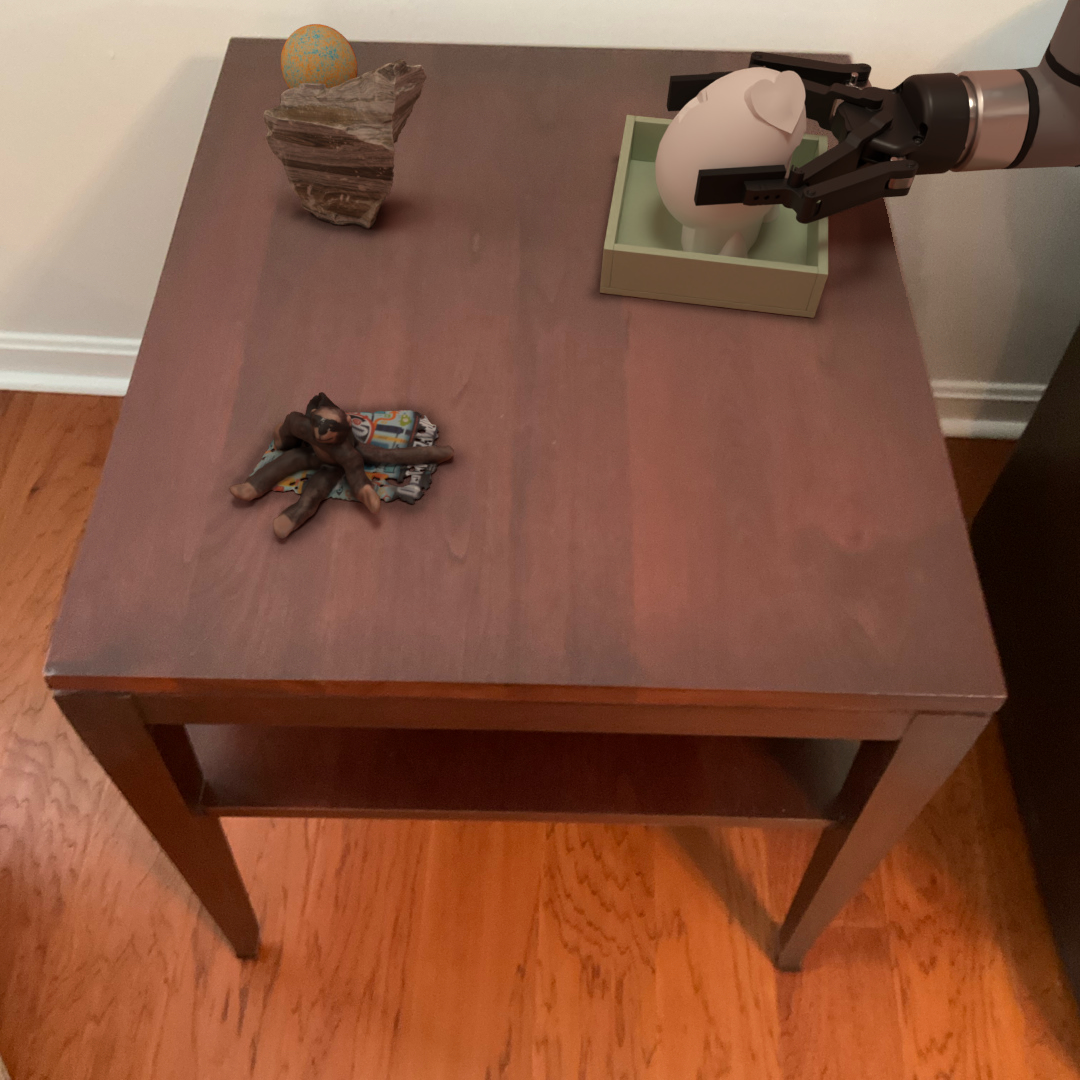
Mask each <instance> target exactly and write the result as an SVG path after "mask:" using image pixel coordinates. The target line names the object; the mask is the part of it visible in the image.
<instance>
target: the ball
mask: <svg viewBox="0 0 1080 1080" xmlns="http://www.w3.org/2000/svg"><path fill="white" fill-rule="evenodd" d="M280 70H281V74H282V77H283V80H284V83H285V85H286V86H287V88H288V89H291V88H295V87H299V85H300V84H301V83H314V84H318V83H321V84H326V85H325V86H326V88H327V89H330V88H332V87H335V86H338V85H341V84H343V83H344V82H346V81H348V80H350V79H354V78H357V77H358V61H357V56H356V53H355V50H354V49H353V47H352V44H351V43H350V42H349V40H348V39H347V38H346V37H345V36H344V35H343V34H342V33H341V32H340V31H338V30H336V28H333V27H331V26H329V25H325V24H321V23H311V24H310V23H309V24H307V25H304V26H301V27H299V28H297V29H296V30H294V31H293V32H292V33H291V34H290V35H289V36H288V37H287V38H286V41H285V43H284V44H283V47H282V50H281V54H280Z"/></svg>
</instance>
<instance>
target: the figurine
mask: <svg viewBox="0 0 1080 1080" xmlns="http://www.w3.org/2000/svg"><path fill="white" fill-rule="evenodd" d="M747 68H748V67H747ZM747 68H743V69H738V70H734V71H735V72H732V73H730V74H728V75H726V76H723V77H721V78H719V79H717V80H716V81H714V82H713V83H711V84H710V85H709V86H707V87H706V88H704V89H703V90H701V91H700V92H699V94H698V95H697V96H696V97H695V98H693V99H692V100H691V101H689V102H688V103H687V104H686V105H685V106H684V107H683V108H682V109H681V111H678V112H677V114H676V115H675V117H674V118H673V119H672V120H673V121H672V122H671V123H670V125H669V126H668V128H667V130H666V132H665V134H664V136H663V138H662V140H661V142H660V144H659V148H658V152H657V157H656V161H655V168H656V183H657V188H658V191H659V194H660V196H661V199H662V201H663V203H664V205H665V207H666V208H667V210H668V211H669V212H670V214H671V215H672V216H673V217H674V218H675V219H676V220H677V221H679V222H680V223H681V224H682V225H683V227H682V235H681V244H682V248H683V251H686V252H694V253H703V254H712V255H721V256H729V257H738V258H747V259H748V254H747V252H748V251H749V250H750V248H751V247H752V246H753V244H754V243H755V242H756V240H757V237H758V235H759V232H760V230H761V226H762V223H767V222H771V221H774V220H775V219H776V218H777V217H778V216H779V204H775V205H757V206H747V205H743V203H735V204H719V205H703V206H696V205H695V202H694V196H695V190H696V184H697V178H698V172H699V170H702V169H719V168H735V167H752V166H769V165H784V166H785V168H786V175H785V178H788V177H789V168H790V164H791V159H792V155H793V151H794V150H795V148H796V147H797V146H799V145H800V143H801V140H802V138H803V135H804V133H807V127H808V126H807V118H806V109H805V104H804V102H805V88H804V85H803V82H802V80H801V78H800V77H799V75H798V74H797V73H795V72H794V71H784V72H782V73H781V72H779V71H776V70H773V69H769V68H763V67H754V68H748V69H747Z"/></svg>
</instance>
